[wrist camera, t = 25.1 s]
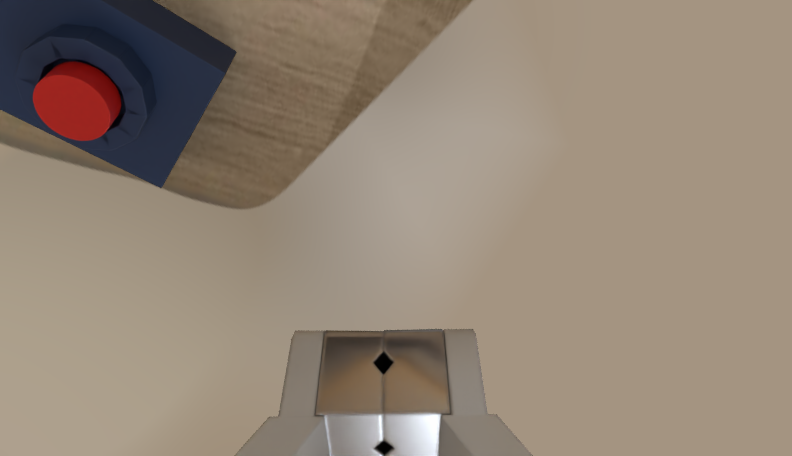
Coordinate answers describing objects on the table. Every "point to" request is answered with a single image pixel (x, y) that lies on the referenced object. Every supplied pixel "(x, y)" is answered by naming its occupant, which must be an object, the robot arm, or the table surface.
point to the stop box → (116, 72)
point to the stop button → (77, 101)
